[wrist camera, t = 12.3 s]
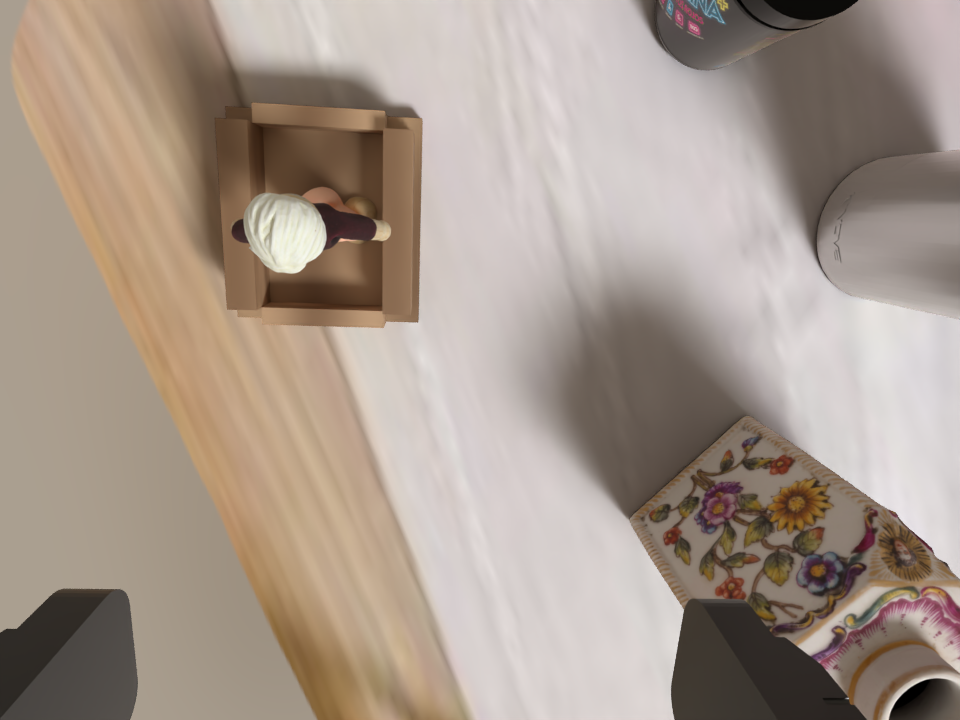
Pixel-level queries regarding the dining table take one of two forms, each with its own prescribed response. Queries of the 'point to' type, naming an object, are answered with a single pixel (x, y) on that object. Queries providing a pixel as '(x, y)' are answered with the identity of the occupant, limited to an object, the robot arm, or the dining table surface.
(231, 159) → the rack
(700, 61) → the supplement container
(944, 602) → the decorative jar
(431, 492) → the dining table surface
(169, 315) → the dining table surface
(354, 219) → the grandmother figurine
